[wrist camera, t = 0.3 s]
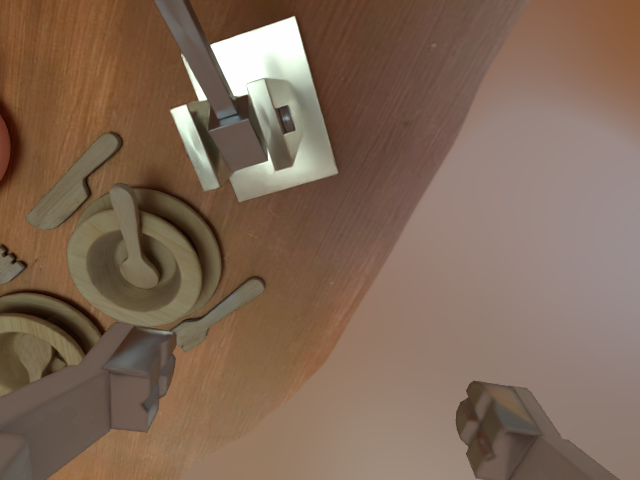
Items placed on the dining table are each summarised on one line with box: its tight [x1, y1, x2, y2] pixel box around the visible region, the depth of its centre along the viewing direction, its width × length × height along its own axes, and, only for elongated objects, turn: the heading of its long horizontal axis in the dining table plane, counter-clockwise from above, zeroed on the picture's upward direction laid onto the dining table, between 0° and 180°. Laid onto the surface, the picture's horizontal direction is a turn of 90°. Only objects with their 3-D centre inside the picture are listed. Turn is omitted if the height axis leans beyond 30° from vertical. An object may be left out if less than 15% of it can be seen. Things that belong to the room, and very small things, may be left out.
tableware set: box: [0, 132, 265, 397], centre depth 34 cm, size 30×20×6 cm, turn 130°
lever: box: [154, 0, 268, 172], centre depth 17 cm, size 12×5×2 cm, turn 16°
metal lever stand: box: [169, 15, 339, 203], centre depth 24 cm, size 12×9×13 cm
